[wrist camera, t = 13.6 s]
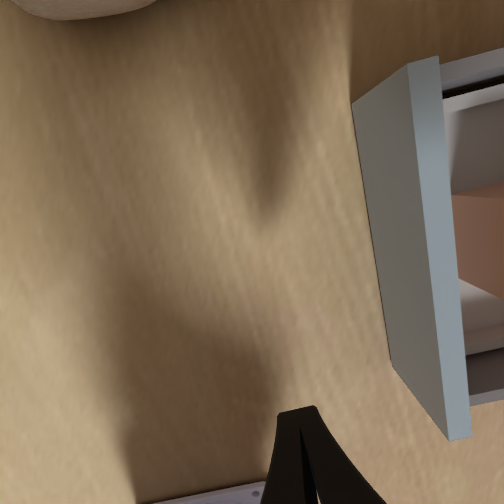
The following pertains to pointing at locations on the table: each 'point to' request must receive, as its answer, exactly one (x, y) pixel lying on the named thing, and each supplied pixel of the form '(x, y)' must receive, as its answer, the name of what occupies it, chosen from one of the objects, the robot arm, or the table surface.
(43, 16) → the stone
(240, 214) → the table surface
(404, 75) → the tray
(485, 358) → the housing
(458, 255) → the block
